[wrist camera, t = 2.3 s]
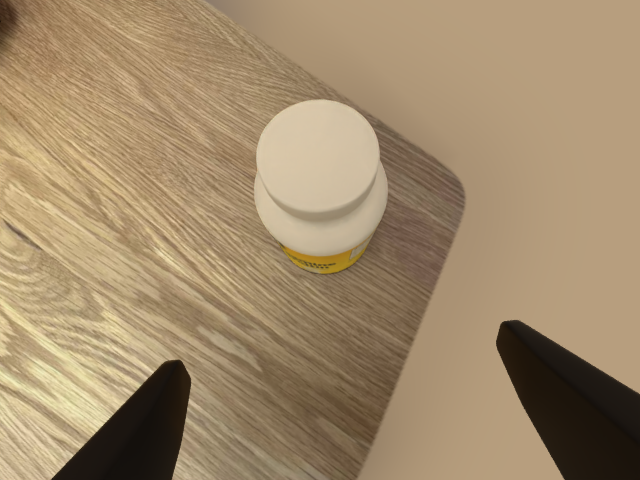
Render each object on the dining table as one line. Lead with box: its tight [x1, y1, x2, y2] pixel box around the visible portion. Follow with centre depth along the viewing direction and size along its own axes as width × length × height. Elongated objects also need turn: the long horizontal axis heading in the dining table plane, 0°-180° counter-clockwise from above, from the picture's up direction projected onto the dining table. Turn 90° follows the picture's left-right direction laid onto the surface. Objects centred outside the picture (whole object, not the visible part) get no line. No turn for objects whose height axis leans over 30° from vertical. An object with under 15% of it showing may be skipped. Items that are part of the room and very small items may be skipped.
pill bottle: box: [254, 99, 388, 274], centre depth 17 cm, size 6×6×12 cm
